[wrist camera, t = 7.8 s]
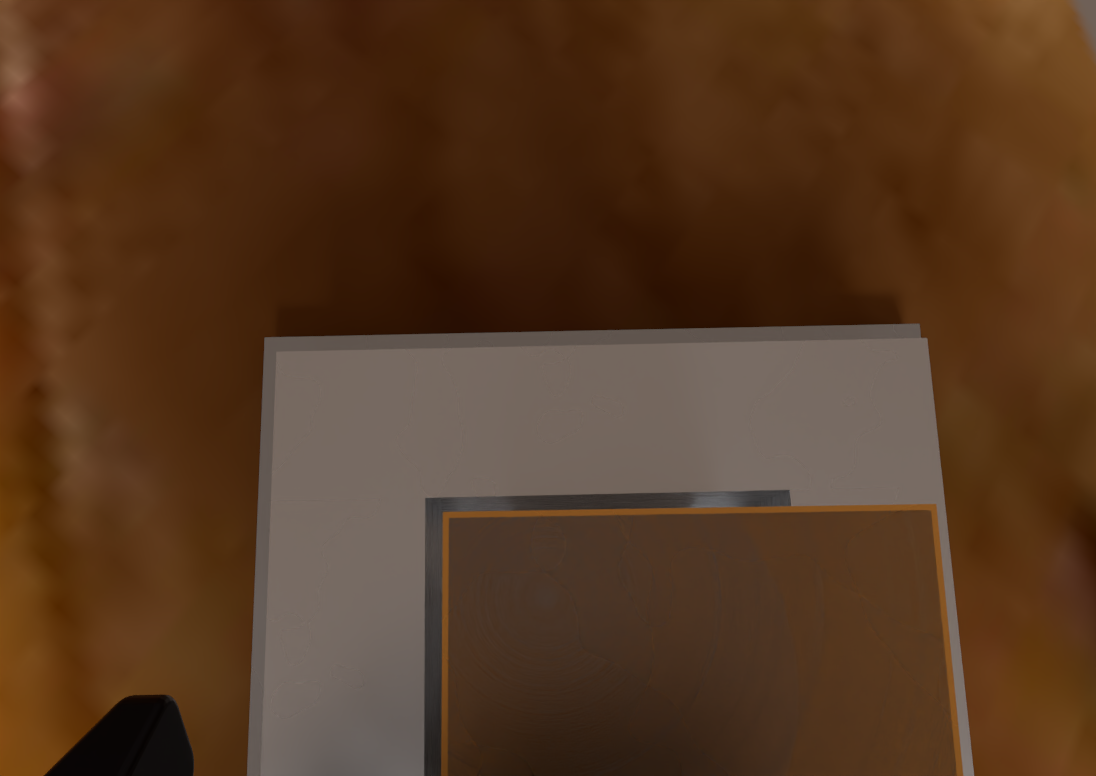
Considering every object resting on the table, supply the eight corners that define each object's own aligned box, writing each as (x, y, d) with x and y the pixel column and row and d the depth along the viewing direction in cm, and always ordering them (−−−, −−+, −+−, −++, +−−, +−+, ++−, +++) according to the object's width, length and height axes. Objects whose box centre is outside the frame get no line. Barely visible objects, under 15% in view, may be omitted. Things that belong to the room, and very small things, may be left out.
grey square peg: (716, 773, 19) (990, 1057, 7) (505, 776, 19) (439, 1068, 7) (705, 559, 20) (935, 503, 8) (503, 562, 20) (443, 512, 8)
